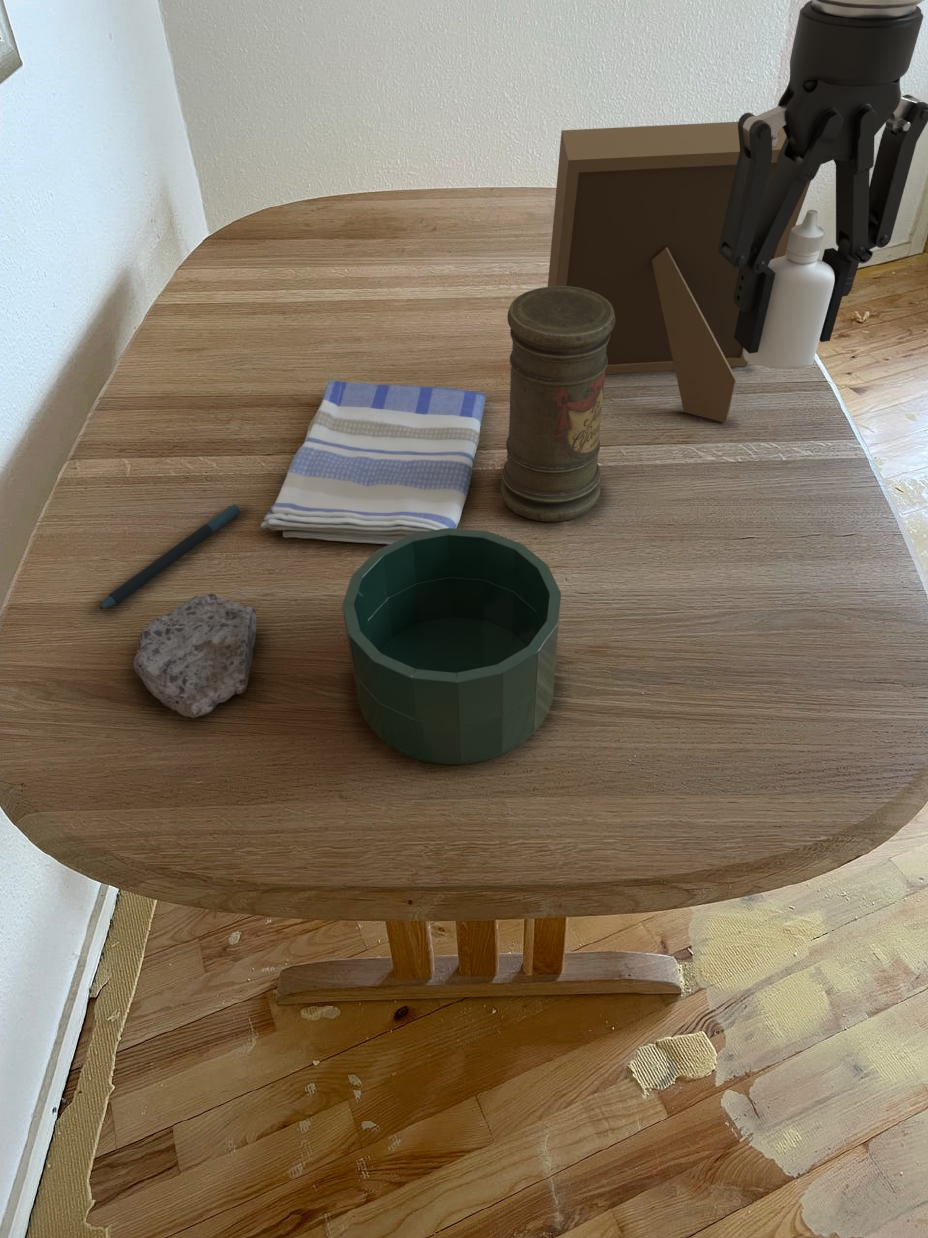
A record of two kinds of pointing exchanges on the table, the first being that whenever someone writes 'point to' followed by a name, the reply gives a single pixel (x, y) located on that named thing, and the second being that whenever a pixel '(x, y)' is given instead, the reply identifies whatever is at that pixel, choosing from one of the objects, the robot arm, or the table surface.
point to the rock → (197, 654)
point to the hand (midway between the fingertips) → (781, 338)
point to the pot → (453, 644)
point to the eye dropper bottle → (796, 301)
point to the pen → (169, 557)
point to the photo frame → (657, 248)
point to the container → (556, 401)
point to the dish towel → (381, 464)
